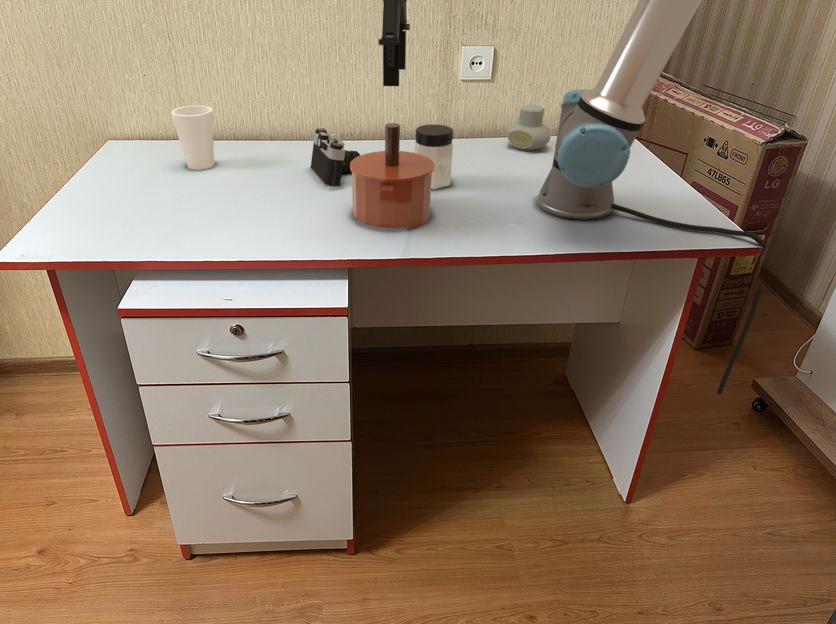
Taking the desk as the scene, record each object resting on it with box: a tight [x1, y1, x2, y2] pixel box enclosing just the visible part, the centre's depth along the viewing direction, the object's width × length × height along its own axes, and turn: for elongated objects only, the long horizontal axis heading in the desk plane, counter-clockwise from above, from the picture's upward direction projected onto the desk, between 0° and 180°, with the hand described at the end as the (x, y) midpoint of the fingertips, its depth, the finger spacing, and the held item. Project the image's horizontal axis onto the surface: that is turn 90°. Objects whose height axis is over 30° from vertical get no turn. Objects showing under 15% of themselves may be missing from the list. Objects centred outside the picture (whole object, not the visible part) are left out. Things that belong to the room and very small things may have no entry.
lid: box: [350, 122, 434, 182], centre depth 123 cm, size 17×17×9 cm
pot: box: [351, 172, 432, 230], centre depth 128 cm, size 16×21×10 cm
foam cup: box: [170, 105, 215, 171], centre depth 153 cm, size 10×9×13 cm
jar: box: [414, 124, 454, 190], centre depth 142 cm, size 9×8×12 cm
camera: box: [310, 126, 361, 188], centre depth 147 cm, size 15×11×10 cm
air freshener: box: [506, 104, 552, 151], centre depth 163 cm, size 11×8×10 cm
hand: (394, 77), depth 115 cm, fingers open, 13 cm apart
